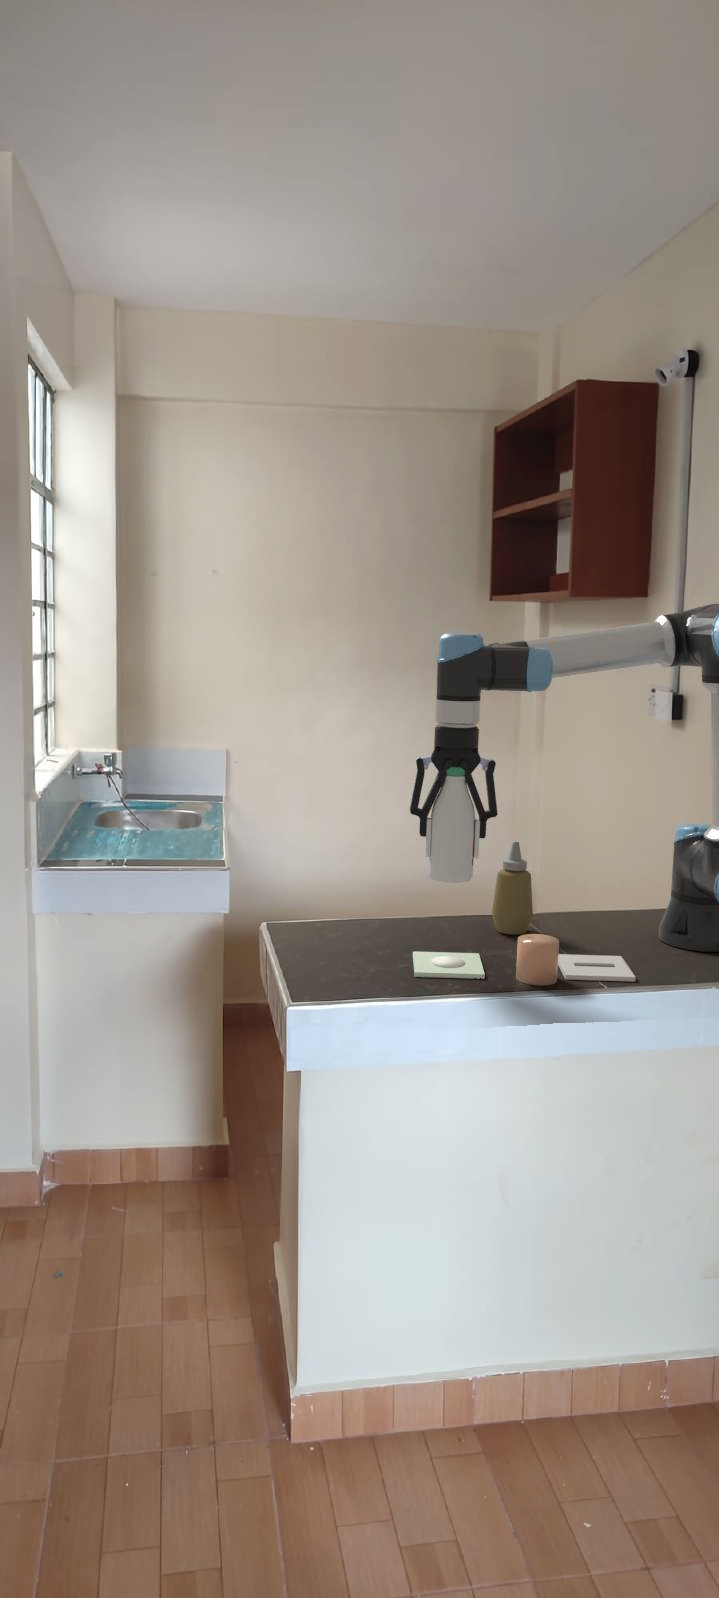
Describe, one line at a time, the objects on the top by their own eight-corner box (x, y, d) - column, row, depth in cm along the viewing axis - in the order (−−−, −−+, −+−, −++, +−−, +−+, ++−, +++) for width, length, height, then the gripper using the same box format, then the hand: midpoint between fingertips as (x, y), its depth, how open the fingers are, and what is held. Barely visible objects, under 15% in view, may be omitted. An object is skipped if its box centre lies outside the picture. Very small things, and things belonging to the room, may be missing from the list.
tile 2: (620, 960, 207) (621, 955, 207) (635, 981, 195) (635, 976, 195) (554, 958, 207) (555, 953, 207) (565, 979, 195) (565, 973, 195)
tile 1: (478, 957, 206) (478, 952, 206) (484, 978, 195) (484, 973, 194) (412, 955, 207) (412, 950, 206) (414, 976, 195) (414, 971, 195)
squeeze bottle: (508, 923, 230) (513, 836, 227) (540, 932, 224) (545, 843, 221) (482, 930, 224) (486, 841, 221) (514, 939, 218) (518, 848, 215)
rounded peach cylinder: (553, 973, 199) (555, 934, 198) (559, 986, 192) (562, 946, 191) (513, 971, 199) (515, 933, 198) (518, 984, 192) (520, 945, 191)
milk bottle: (469, 885, 193) (475, 769, 190) (425, 882, 195) (429, 766, 192) (474, 875, 201) (480, 763, 198) (431, 872, 202) (436, 761, 199)
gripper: (514, 724, 197) (508, 853, 201) (396, 720, 197) (392, 849, 201) (519, 728, 190) (513, 862, 193) (397, 725, 190) (392, 858, 194)
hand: (451, 855), depth 197 cm, fingers closed on milk bottle, 8 cm apart
